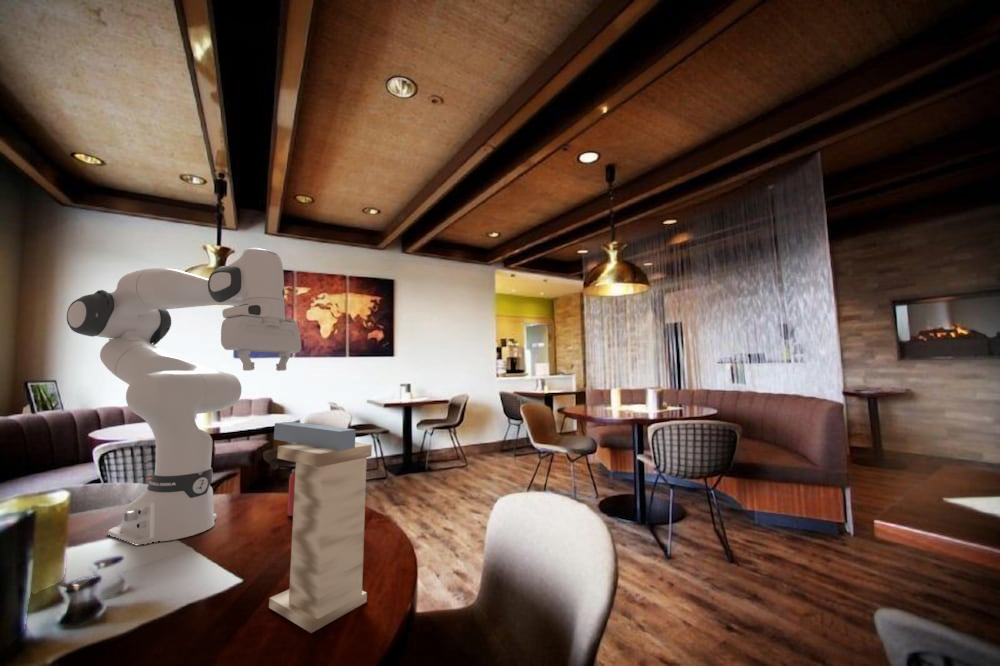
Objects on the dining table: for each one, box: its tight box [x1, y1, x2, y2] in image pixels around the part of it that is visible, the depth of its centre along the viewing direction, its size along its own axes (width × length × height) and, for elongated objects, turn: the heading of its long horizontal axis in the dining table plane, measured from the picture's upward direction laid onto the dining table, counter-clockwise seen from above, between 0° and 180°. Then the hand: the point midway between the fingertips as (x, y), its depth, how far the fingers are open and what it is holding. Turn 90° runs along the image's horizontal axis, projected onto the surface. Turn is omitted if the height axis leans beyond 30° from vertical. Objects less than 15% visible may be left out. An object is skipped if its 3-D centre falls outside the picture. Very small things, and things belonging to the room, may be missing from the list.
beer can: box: [287, 468, 296, 518], centre depth 112 cm, size 7×7×12 cm
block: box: [273, 421, 356, 450], centre depth 73 cm, size 20×3×3 cm, turn 57°
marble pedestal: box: [268, 441, 373, 634], centre depth 69 cm, size 12×10×26 cm
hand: (265, 370), depth 97 cm, fingers open, 8 cm apart
